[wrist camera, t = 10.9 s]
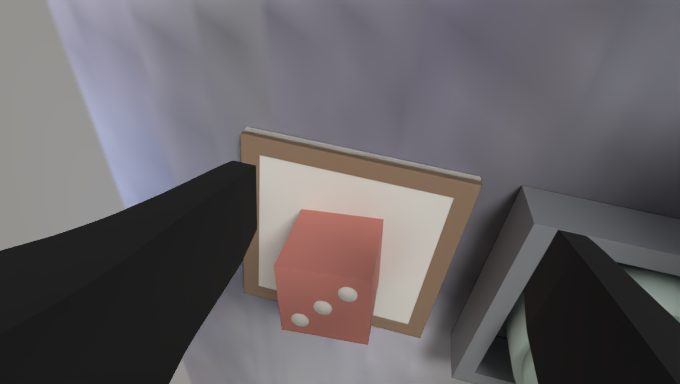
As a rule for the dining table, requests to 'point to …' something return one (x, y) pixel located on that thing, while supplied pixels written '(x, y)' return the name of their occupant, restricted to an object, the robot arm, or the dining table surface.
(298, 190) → the board
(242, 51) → the dining table surface
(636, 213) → the grey square tray
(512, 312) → the dome
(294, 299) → the small die
